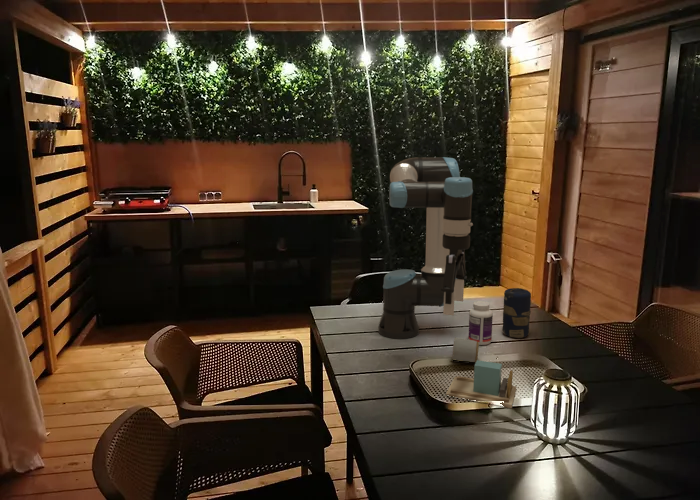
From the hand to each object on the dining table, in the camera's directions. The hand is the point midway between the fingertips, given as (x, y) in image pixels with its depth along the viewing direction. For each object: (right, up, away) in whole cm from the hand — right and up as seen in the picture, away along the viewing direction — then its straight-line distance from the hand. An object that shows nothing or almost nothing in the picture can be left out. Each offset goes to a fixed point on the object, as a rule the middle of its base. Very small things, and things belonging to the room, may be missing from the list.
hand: (453, 307), depth 157 cm
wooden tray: (+8, -25, +2) cm, 26 cm away
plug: (+10, -24, +1) cm, 26 cm away
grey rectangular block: (+8, -20, +26) cm, 34 cm away
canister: (+32, -15, +48) cm, 59 cm away
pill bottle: (+17, -17, +41) cm, 47 cm away
